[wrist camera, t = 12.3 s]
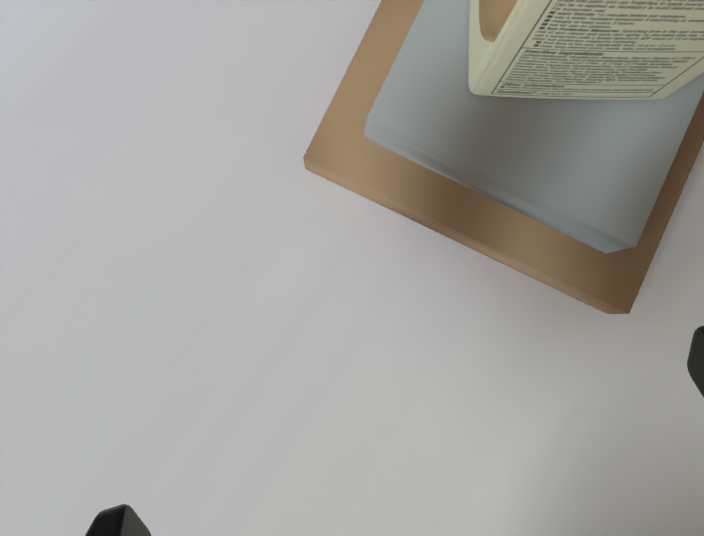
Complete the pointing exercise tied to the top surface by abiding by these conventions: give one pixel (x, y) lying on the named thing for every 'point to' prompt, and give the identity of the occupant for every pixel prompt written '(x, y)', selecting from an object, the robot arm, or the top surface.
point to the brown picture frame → (507, 157)
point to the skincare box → (584, 48)
